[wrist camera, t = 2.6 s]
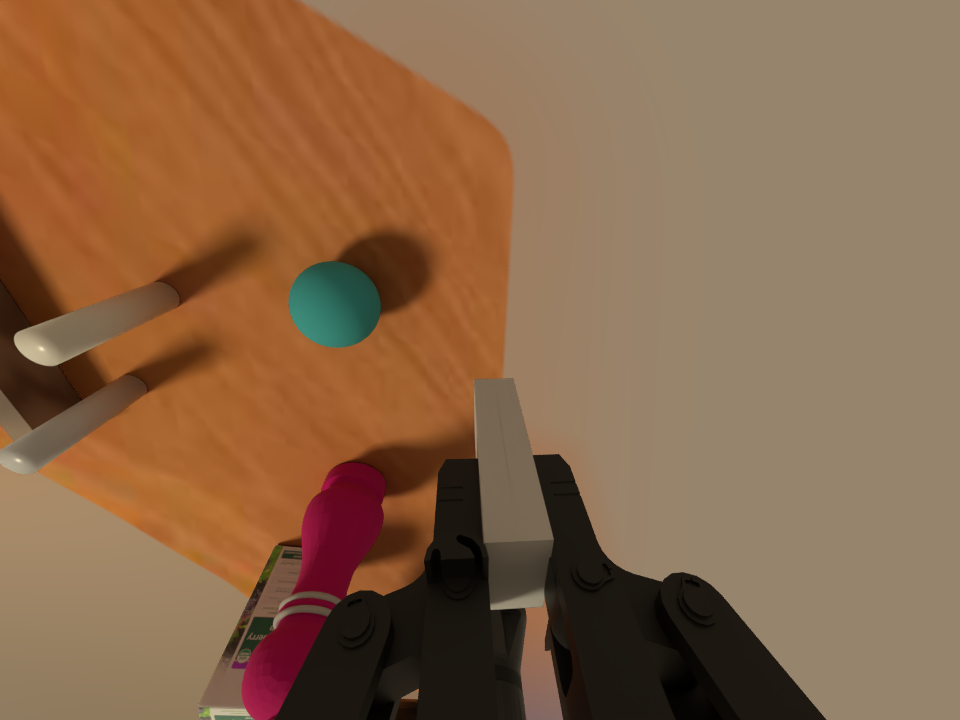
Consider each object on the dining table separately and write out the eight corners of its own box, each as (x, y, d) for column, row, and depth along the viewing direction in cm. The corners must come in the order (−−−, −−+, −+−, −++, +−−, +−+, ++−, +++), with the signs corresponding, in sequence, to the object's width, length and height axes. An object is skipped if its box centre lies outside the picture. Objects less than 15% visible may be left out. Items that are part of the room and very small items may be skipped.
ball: (392, 326, 29) (376, 361, 24) (318, 328, 29) (286, 364, 23) (382, 252, 26) (362, 273, 21) (300, 253, 26) (258, 275, 20)
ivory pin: (184, 309, 27) (72, 365, 19) (155, 309, 27) (30, 366, 19) (172, 281, 26) (48, 329, 18) (142, 281, 26) (4, 330, 18)
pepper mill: (341, 447, 35) (220, 729, 17) (403, 476, 37) (353, 751, 20) (309, 489, 37) (176, 771, 20) (370, 514, 40) (298, 786, 22)
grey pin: (151, 395, 31) (45, 473, 23) (125, 396, 31) (10, 474, 23) (140, 374, 30) (24, 448, 22) (113, 375, 30) (-13, 449, 22)
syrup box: (325, 547, 42) (267, 710, 29) (325, 575, 45) (271, 735, 32) (275, 543, 41) (193, 709, 29) (278, 572, 44) (204, 735, 31)
